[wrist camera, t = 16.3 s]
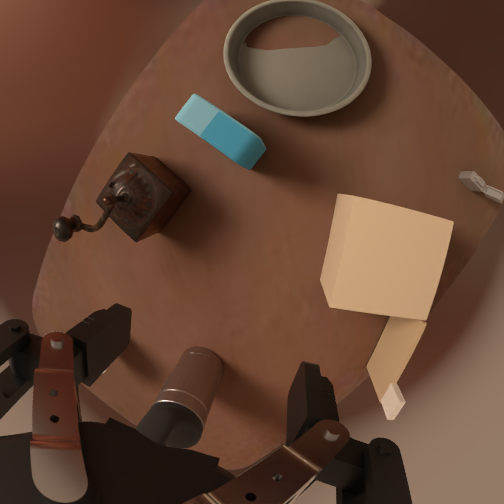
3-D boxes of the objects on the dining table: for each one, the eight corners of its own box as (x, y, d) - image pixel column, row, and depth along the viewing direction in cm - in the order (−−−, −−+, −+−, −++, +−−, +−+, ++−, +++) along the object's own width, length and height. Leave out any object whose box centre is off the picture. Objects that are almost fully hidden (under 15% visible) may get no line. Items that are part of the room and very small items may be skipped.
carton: (400, 293, 49) (426, 320, 37) (319, 280, 50) (329, 307, 39) (420, 213, 46) (453, 221, 34) (337, 193, 47) (354, 195, 35)
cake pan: (390, 66, 40) (398, 57, 36) (303, 151, 46) (305, 147, 42) (290, -9, 39) (290, -21, 34) (200, 66, 44) (193, 57, 40)
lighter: (457, 178, 43) (481, 178, 35) (461, 171, 43) (485, 170, 35) (479, 200, 43) (503, 204, 35) (482, 193, 43) (506, 196, 35)
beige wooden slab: (402, 297, 49) (441, 339, 33) (370, 367, 53) (392, 422, 36) (397, 295, 49) (435, 337, 33) (365, 366, 53) (386, 421, 37)
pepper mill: (151, 152, 49) (92, 141, 31) (193, 190, 49) (147, 193, 32) (106, 216, 52) (44, 231, 35) (144, 254, 53) (89, 283, 35)
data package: (196, 131, 47) (170, 116, 35) (212, 111, 46) (190, 90, 34) (251, 171, 48) (240, 166, 36) (267, 150, 46) (262, 138, 35)
